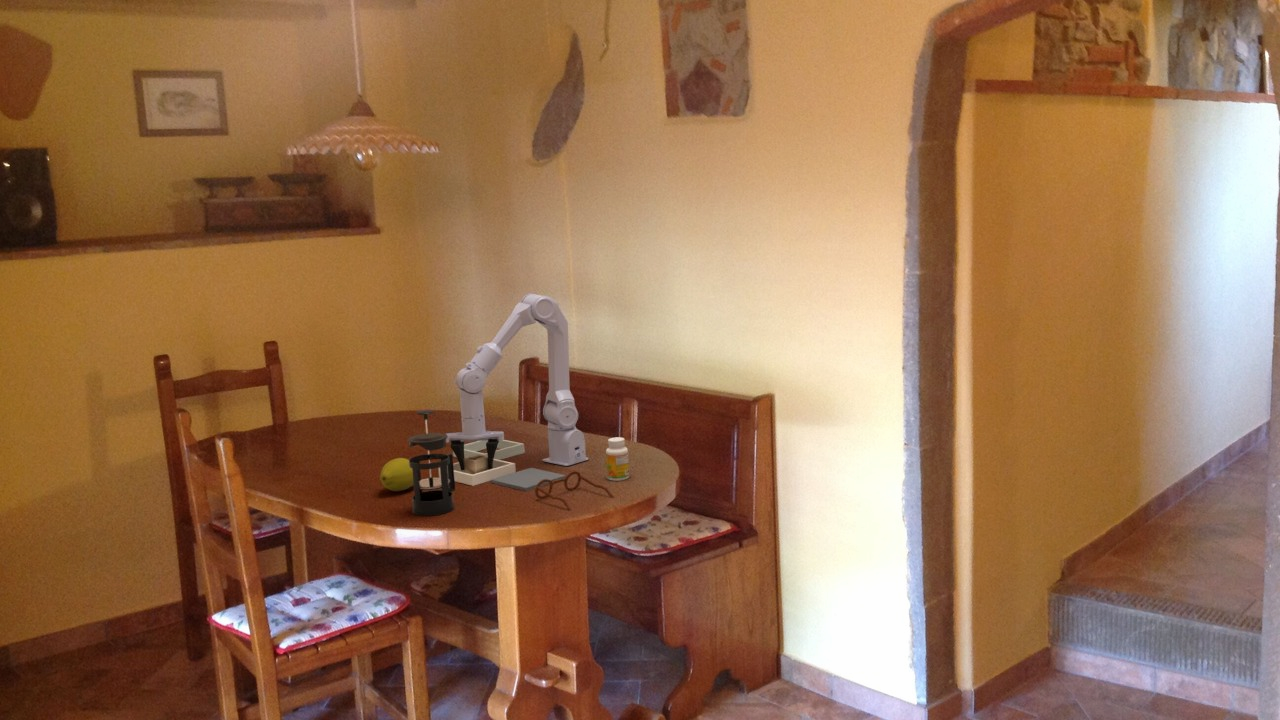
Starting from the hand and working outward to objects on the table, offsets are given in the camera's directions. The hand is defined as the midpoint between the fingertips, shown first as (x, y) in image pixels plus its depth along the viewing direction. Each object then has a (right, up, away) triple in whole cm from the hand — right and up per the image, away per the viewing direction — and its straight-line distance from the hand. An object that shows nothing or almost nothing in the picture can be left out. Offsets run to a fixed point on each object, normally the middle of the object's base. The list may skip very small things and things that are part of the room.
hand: (476, 469), depth 280 cm
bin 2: (0, -2, 0) cm, 2 cm away
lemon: (-17, -5, -10) cm, 21 cm away
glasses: (+26, -5, -24) cm, 36 cm away
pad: (+14, -2, -7) cm, 16 cm away
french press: (-5, -7, -27) cm, 28 cm away
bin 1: (0, +2, +21) cm, 21 cm away
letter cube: (0, -2, 0) cm, 2 cm away
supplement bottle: (+36, -2, -9) cm, 37 cm away
